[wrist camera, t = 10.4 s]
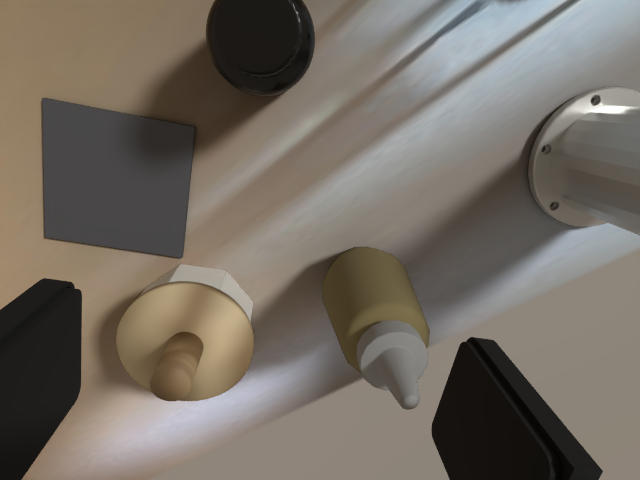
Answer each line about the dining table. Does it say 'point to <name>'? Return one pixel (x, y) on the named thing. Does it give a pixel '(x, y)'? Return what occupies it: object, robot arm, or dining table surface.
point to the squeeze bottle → (378, 321)
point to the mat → (115, 178)
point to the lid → (185, 341)
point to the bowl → (208, 282)
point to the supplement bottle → (260, 43)
